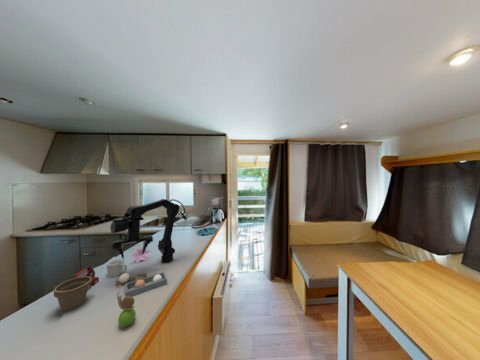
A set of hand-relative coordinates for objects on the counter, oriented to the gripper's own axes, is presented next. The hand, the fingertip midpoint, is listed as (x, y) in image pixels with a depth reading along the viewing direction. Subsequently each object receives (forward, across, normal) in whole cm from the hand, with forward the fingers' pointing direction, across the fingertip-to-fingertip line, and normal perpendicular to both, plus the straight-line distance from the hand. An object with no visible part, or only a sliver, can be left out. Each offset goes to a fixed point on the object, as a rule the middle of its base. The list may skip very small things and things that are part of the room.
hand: (133, 256), depth 91 cm
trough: (+12, -5, +15) cm, 20 cm away
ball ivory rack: (+11, +4, +4) cm, 12 cm away
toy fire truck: (+12, +20, -3) cm, 24 cm away
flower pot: (+12, +22, +10) cm, 27 cm away
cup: (+12, +7, -8) cm, 16 cm away
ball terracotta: (+11, -2, +15) cm, 19 cm away
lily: (+12, -6, -21) cm, 25 cm away
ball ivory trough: (+11, -10, +15) cm, 21 cm away
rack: (+12, 0, +4) cm, 13 cm away
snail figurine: (+12, +4, +34) cm, 36 cm away
